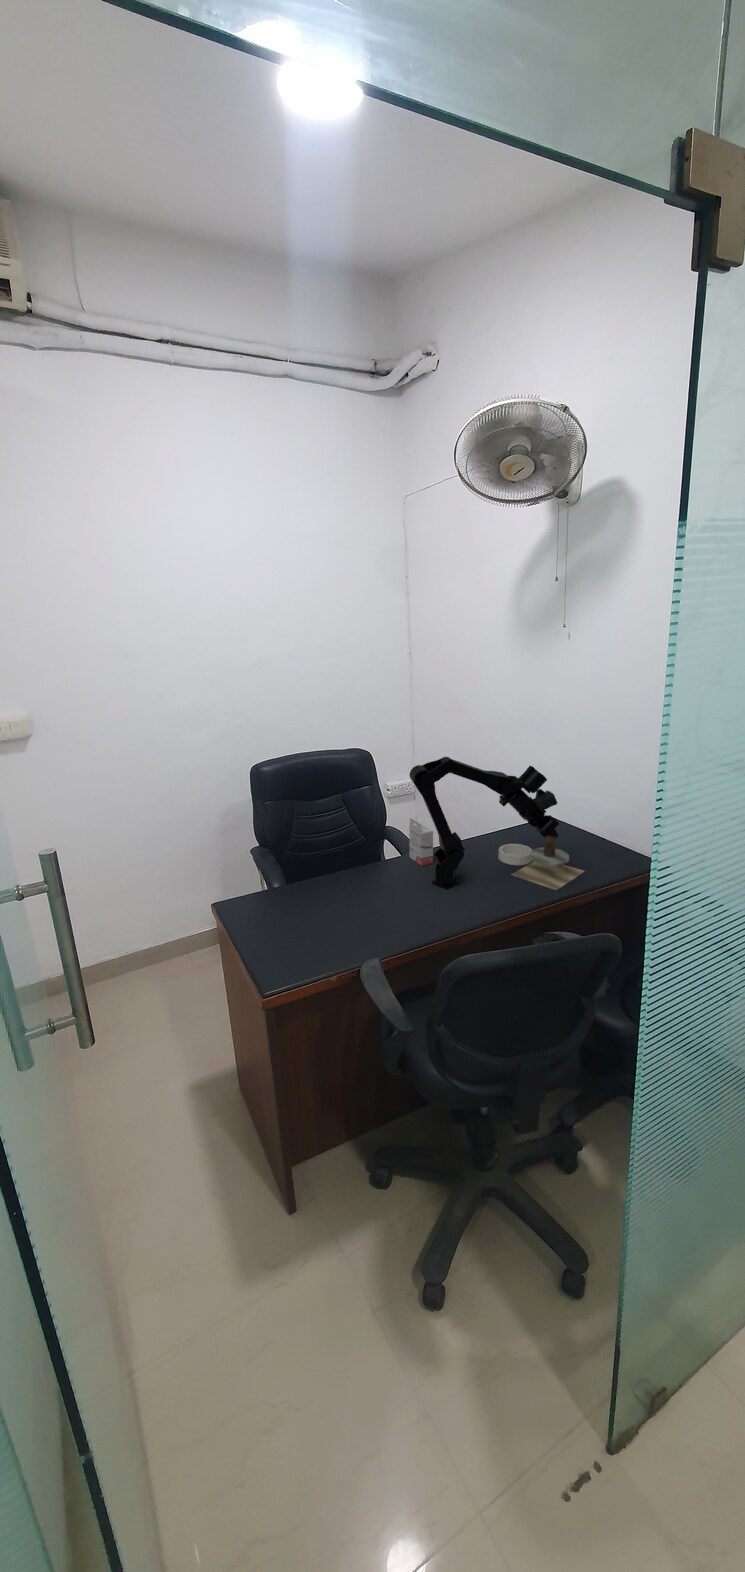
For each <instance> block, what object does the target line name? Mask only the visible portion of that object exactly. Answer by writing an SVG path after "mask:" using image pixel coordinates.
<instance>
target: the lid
mask: <svg viewBox="0 0 745 1572" xmlns="http://www.w3.org/2000/svg"><path fill="white" fill-rule="evenodd" d="M557 829H558V826H557V827H556V828H555V830H556V832H557ZM557 833H558V832H557ZM556 844H557V838H554V837H551V836H547V837H545V838H544V845H543V846H544V847H536V848H533V849H532V851H530V859H531V860H532V862H536V863H539V864H543V865H550V866H557V865H566V864H567V863H568V862H569V861H570V855H569V854H568V853H567V852H566V851H564V850H562V849H559V848H556V846H557V845H556Z"/></svg>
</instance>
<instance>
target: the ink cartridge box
mask: <svg viewBox="0 0 745 1572" xmlns="http://www.w3.org/2000/svg"><path fill="white" fill-rule="evenodd" d="M408 827H409V828H408V830H409V833H408V835H409V839H408V840H409V858H410V859H411V860H412V861H414V862H416V864H418V865H419V866H421V867H422V866H426V865H431V863H432V864H434V830H432V829H431V828H429V827H428V826H426V825H424V824H423V823H419V822H418V821H417V820H415V819H414V818H412V817H410V818H409V825H408Z"/></svg>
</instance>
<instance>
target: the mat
mask: <svg viewBox="0 0 745 1572" xmlns="http://www.w3.org/2000/svg"><path fill="white" fill-rule="evenodd" d="M585 871H586V870H583V869H579V868H576V867H573V866H570V865H566V864H563V865H557V866H550V865H543V864H539V863H536V862H534V861H532V862H530V863H528V864H526V865H525V866H523V867H522V868H520V869H518V870H517V871H515V872H513V873H511V874H510V875H511V876H513V877H516V878H519V879H522V880H525V881H527V882H530V883H534V884H537V885H538V886H539V885H540V886H542V887H545V888H548V889H551V890H555V891H557V890H559V889H560V888H562V887H564V886H565V885H567V884H568V883H570V882H571V881H573V880H574V879H576V878H577V877H579V876H580V875H582V874H583V873H585Z"/></svg>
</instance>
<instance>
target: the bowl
mask: <svg viewBox="0 0 745 1572" xmlns="http://www.w3.org/2000/svg"><path fill="white" fill-rule="evenodd" d="M532 850H533V849H532V848H531V847H529V846H528V845H524V844H521V843H508V844H503V845H501V846H499V847H498V858H497V859H498V860H499V861H501V862H502V863H504V864H507V865H511V866H512V865H513V866H524V865H525V866H526V865H528V864H530V863H532V862H533V860H531V859H530V851H532Z"/></svg>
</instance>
